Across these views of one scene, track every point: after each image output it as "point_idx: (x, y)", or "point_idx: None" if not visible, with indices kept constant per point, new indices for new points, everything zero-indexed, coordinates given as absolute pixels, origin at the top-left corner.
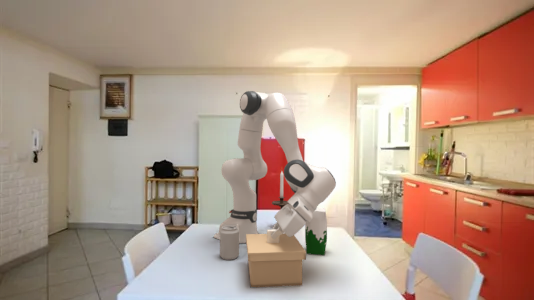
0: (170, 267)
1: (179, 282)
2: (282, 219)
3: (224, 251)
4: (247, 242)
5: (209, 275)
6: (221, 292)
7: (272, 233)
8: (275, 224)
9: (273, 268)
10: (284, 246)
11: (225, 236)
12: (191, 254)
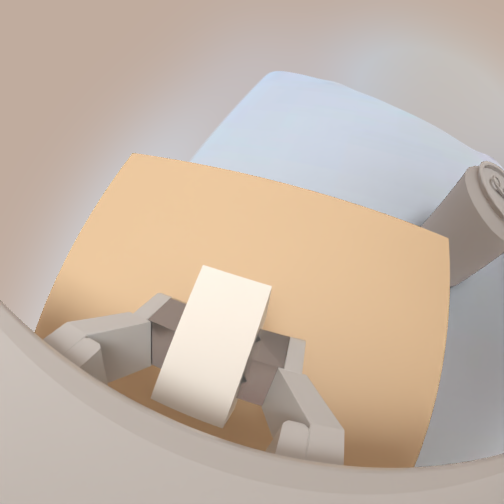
0: (377, 119)
1: (291, 116)
2: (6, 419)
3: (430, 216)
4: (289, 186)
5: (311, 167)
6: None
7: (165, 310)
8: (311, 427)
9: None
10: None
11: (459, 181)
12: (451, 171)
